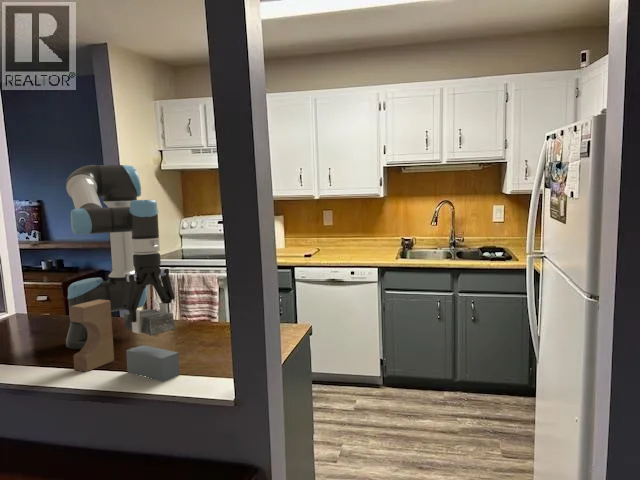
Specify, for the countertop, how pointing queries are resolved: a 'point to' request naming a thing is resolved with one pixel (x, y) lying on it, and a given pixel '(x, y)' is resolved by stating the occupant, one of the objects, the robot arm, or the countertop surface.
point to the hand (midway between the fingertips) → (151, 328)
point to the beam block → (153, 362)
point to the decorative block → (94, 334)
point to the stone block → (152, 322)
